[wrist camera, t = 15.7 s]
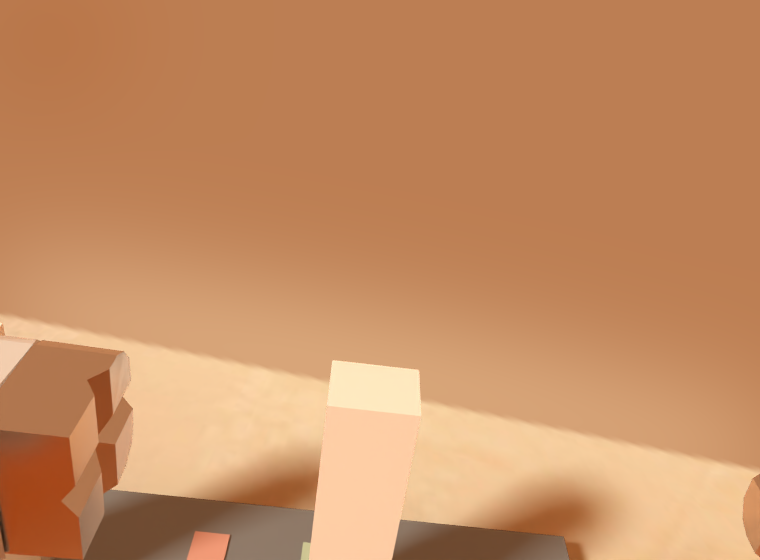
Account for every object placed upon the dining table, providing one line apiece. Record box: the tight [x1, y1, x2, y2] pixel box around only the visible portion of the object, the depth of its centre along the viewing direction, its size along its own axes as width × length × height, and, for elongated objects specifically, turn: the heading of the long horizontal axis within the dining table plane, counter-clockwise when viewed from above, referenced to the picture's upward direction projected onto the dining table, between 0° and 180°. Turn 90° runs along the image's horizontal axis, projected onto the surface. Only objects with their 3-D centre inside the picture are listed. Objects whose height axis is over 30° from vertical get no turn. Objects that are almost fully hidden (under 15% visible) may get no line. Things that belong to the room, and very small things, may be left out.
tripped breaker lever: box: [309, 360, 421, 560], centre depth 27 cm, size 4×4×12 cm
